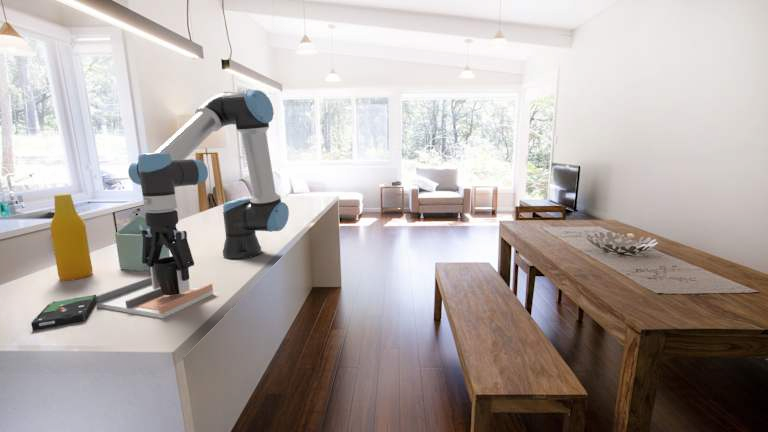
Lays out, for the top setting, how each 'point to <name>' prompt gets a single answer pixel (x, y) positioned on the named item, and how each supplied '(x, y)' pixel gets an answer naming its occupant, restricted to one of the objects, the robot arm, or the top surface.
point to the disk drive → (64, 312)
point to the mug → (167, 275)
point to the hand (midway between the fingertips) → (171, 289)
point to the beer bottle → (69, 240)
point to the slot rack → (150, 299)
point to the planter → (133, 245)
